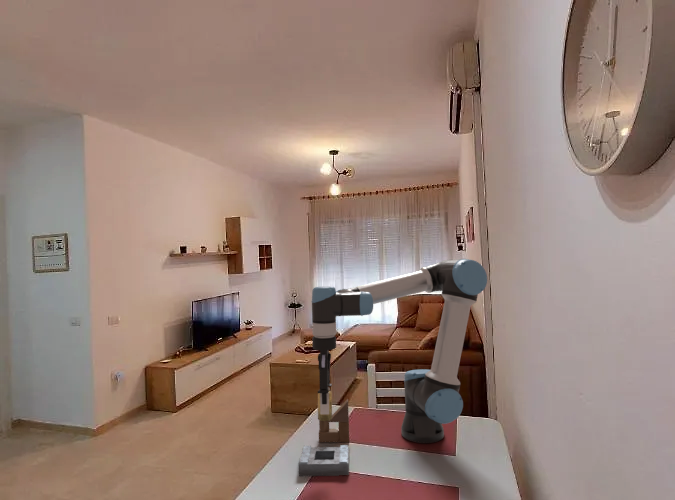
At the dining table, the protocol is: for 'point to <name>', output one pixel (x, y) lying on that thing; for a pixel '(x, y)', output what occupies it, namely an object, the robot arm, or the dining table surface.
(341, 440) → the brown wooden stand
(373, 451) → the dining table surface
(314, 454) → the jig
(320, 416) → the bushing
